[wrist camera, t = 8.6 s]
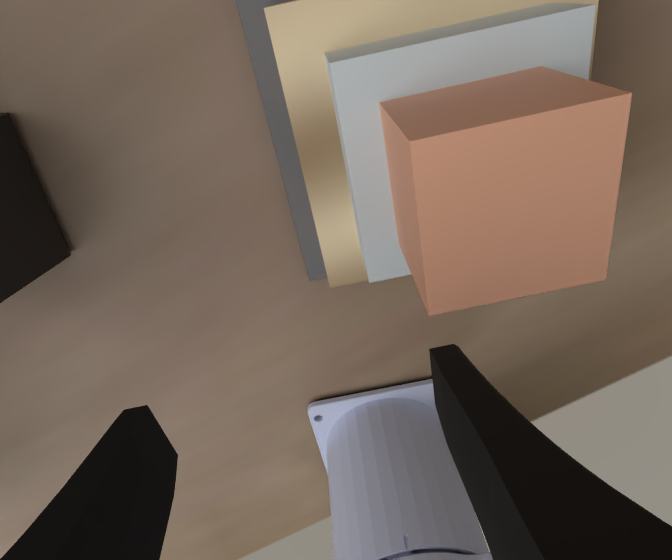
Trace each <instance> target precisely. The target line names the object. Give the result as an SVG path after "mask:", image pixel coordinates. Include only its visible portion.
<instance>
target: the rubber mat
mask: <svg viewBox="0 0 672 560" xmlns="http://www.w3.org/2000/svg"><path fill="white" fill-rule="evenodd" d="M289 1H293V0H236V3H237V7H238V11H239V14H240V18H241V22H242V26H243V30H244V33H245V37H246V41H247V45H248V49H249V52H250V56H251V60H252V64H253V68H254V71H255V75H256V79H257V83H258V87H259V90H260V94H261V98H262V102H263V106H264V109H265V113H266V117H267V121H268V125H269V128H270V132H271V136H272V140H273V144H274V147H275V151H276V155H277V159H278V162H279V166H280V170H281V174H282V178H283V181H284V185H285V189H286V193H287V197H288V200H289V204H290V208H291V212H292V216H293V219H294V223H295V227H296V231H297V235H298V238H299V242H300V246H301V250H302V254H303V257H304V261H305V265H306V269H307V273H308V276H309V280H310V281H312V280H317V279H322V278H327V273H326V269H325V264H324V260H323V256H322V252H321V248H320V243H319V239H318V235H317V231H316V226H315V222H314V218H313V214H312V210H311V205H310V201H309V197H308V193H307V189H306V184H305V180H304V176H303V172H302V168H301V163H300V159H299V155H298V151H297V146H296V142H295V138H294V134H293V130H292V125H291V121H290V117H289V113H288V109H287V104H286V100H285V96H284V92H283V88H282V83H281V79H280V75H279V71H278V66H277V62H276V58H275V54H274V50H273V45H272V41H271V37H270V33H269V29H268V24H267V20H266V16H265V12H264V8H265V7H267V6H271V5H275V4H280V3H284V2H289Z"/></svg>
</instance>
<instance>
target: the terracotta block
mask: <svg viewBox="0 0 672 560" xmlns="http://www.w3.org/2000/svg"><path fill="white" fill-rule="evenodd" d="M631 98H632V93H631V92H628V91H624V90H621V89H617V88H614V87H611V86H607V85H604V84H600V83H597V82H594V81H590V80H587V79H583V78H580V77H577V76H573V75H570V74H566V73H563V72H560V71H556V70H553V69H549V68H546V67H543V66H540V67H535V68H531V69H526V70H522V71H517V72H513V73H508V74H504V75H499V76H495V77H490V78H486V79H481V80H477V81H472V82H468V83H463V84H459V85H454V86H450V87H445V88H441V89H436V90H432V91H427V92H423V93H418V94H414V95H409V96H405V97H400V98H396V99H391V100H387V101H382V102H379V106H380V113H381V120H382V128H383V135H384V142H385V149H386V156H387V163H388V171H389V178H390V185H391V192H392V199H393V206H394V213H395V221H396V228H397V235H398V242H399V246H400V248H401V250H402V253H403V255H404V258H405V260H406V262H407V265H408V267H409V270H410V272H411V274H412V277H413V279H414V282H415V284H416V286H417V289H418V291H419V294H420V296H421V298H422V301H423V303H424V306H425V308H426V310H427V313H428V315H429V316H431V315H436V314H441V313H446V312H451V311H456V310H461V309H466V308H471V307H475V306H480V305H485V304H490V303H495V302H500V301H505V300H510V299H515V298H520V297H524V296H529V295H534V294H539V293H544V292H549V291H554V290H559V289H564V288H569V287H574V286H578V285H583V284H588V283H593V282H598V281H603V280H606V277H607V270H608V263H609V256H610V248H611V241H612V234H613V227H614V220H615V213H616V206H617V198H618V191H619V184H620V177H621V170H622V163H623V155H624V148H625V141H626V134H627V127H628V120H629V113H630V105H631Z"/></svg>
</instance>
